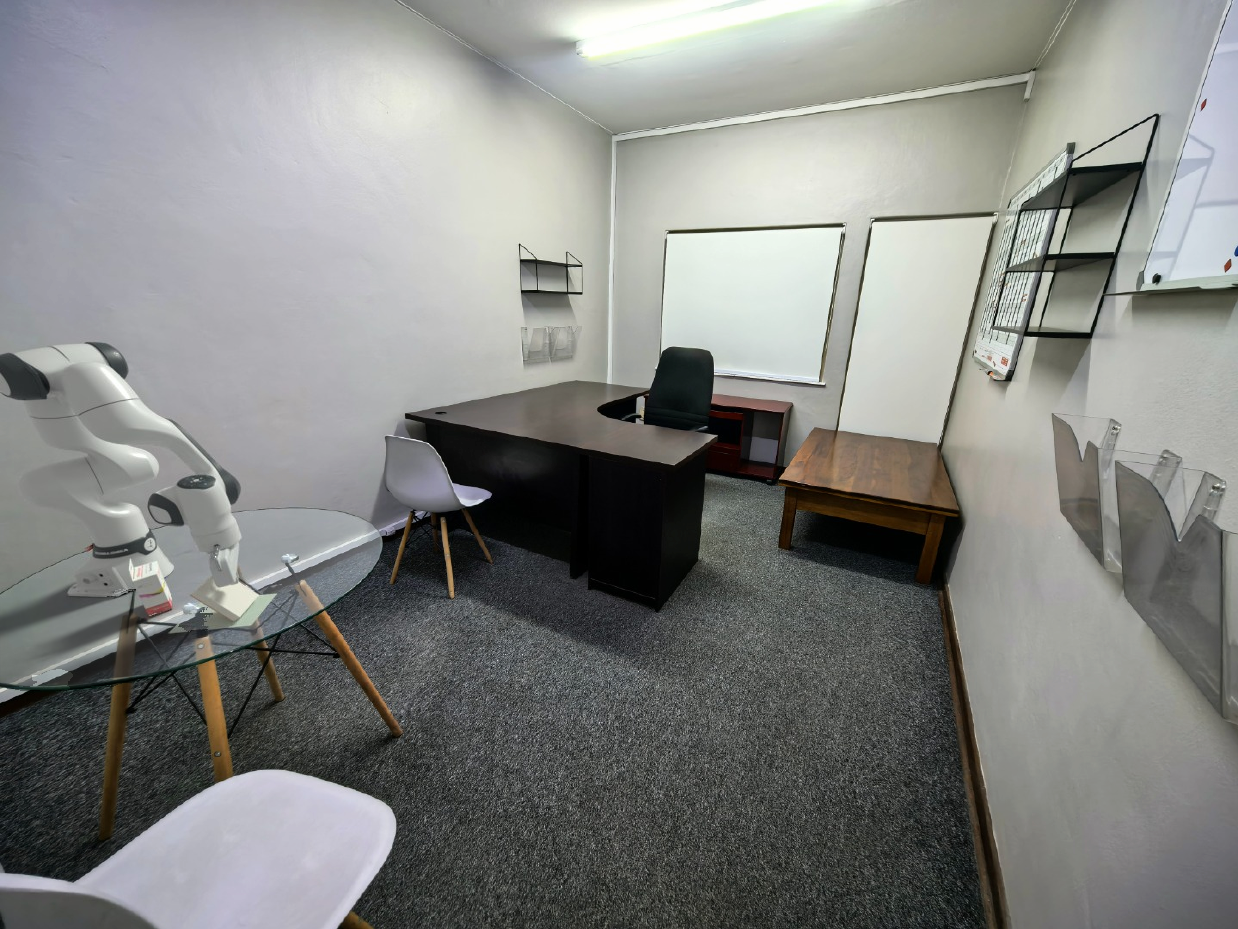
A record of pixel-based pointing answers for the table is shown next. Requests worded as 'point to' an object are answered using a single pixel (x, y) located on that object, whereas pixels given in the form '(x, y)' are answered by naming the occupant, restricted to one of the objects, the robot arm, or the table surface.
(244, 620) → the felt pad
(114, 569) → the robot arm
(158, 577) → the ink cartridge box
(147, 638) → the table surface
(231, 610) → the cream layered slab
